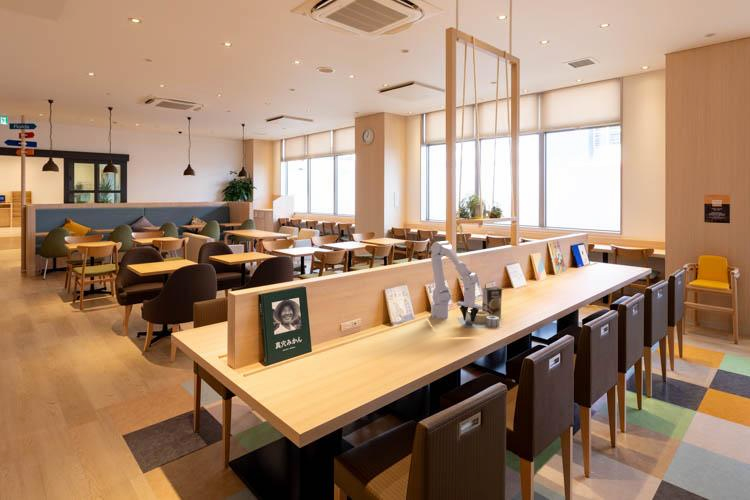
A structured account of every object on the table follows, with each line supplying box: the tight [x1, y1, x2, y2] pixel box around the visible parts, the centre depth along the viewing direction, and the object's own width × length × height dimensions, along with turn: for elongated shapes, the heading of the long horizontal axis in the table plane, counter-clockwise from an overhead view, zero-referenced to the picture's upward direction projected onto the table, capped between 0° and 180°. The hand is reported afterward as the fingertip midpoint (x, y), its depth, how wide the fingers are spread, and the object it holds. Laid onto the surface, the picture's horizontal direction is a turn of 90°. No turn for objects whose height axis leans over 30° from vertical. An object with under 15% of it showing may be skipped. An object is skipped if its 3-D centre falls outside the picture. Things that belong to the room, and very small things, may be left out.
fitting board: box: [456, 310, 504, 329], centre depth 246 cm, size 20×20×5 cm
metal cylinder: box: [465, 309, 473, 325], centre depth 243 cm, size 4×4×7 cm
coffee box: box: [481, 286, 503, 318], centre depth 262 cm, size 9×6×16 cm
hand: (469, 320), depth 243 cm, fingers closed on metal cylinder, 4 cm apart
